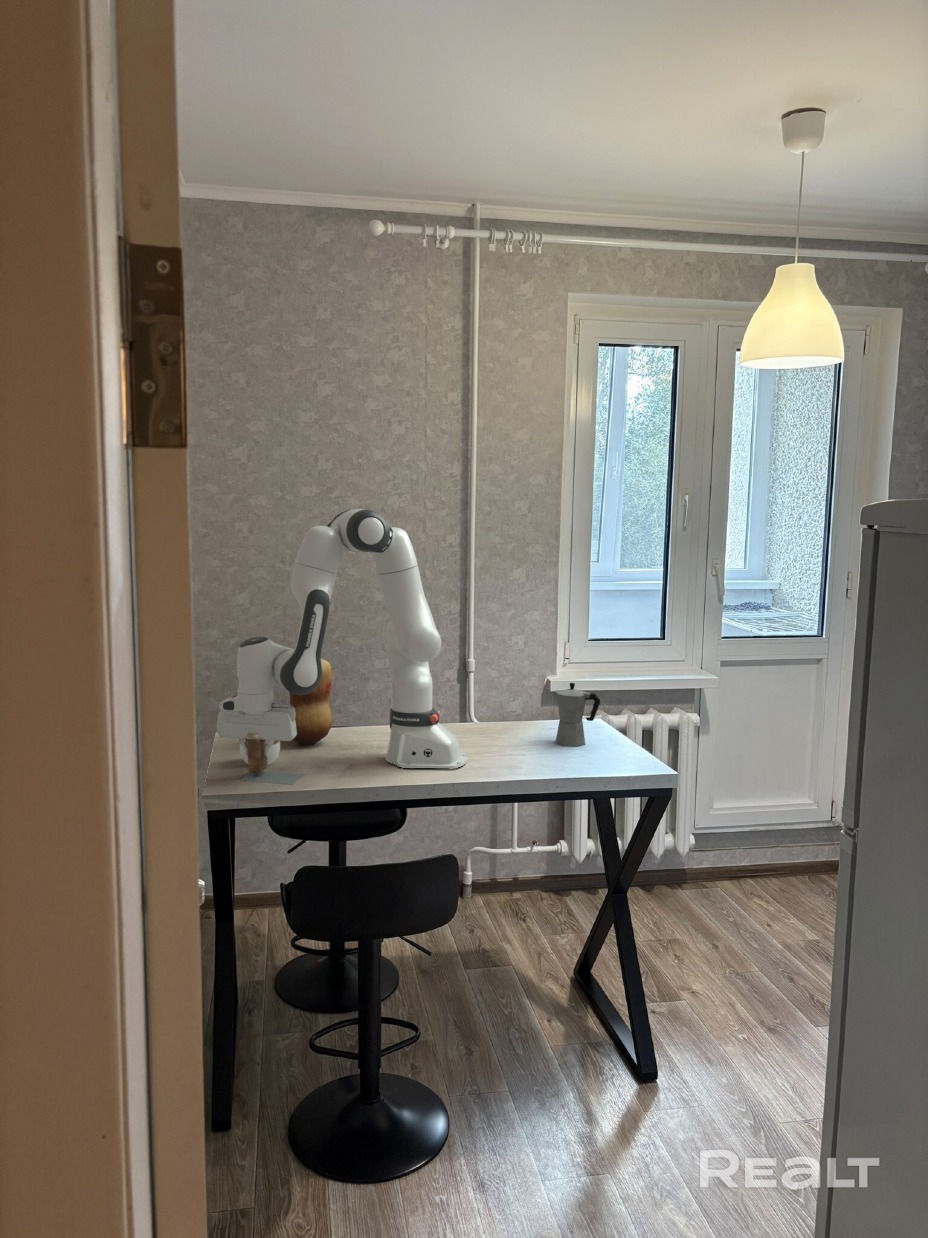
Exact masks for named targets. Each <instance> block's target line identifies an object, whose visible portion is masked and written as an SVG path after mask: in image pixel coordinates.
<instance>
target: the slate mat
mask: <svg viewBox="0 0 928 1238" xmlns="http://www.w3.org/2000/svg"><path fill="white" fill-rule="evenodd" d="M306 774H307V773H295V772H294V773H292V772H284V771H283V772H282V771H270V770H269V771H268V770H264V771H262V772H261V773H260V774H259V773H248V774H246V775H245V776H243V777H242V778H241V779H239V780H238V781H241V782H252V783H263V784H277V785H288V786H290V785H291V786H293V785H295V784H296V783H297V782H298V781H300V779H302V778H304V776H305V775H306Z"/></svg>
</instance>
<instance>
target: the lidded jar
mask: <svg viewBox="0 0 928 1238" xmlns="http://www.w3.org/2000/svg"><path fill="white" fill-rule="evenodd" d="M238 741H239V751H240V756H241V758H242V760H243V762H244V763H246V765H248V756H247V755H245V749H244V747H243V745H242V744H241V738H238ZM267 745H268V744H267ZM280 751H281V741H279V740H274V743H273V744H272V746H271V748H270V755H269V756H268V757H267V766H270V765H273V764H274V763H275V762H276V760H277V759H278V758H279V754H280Z"/></svg>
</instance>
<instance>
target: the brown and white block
mask: <svg viewBox="0 0 928 1238" xmlns="http://www.w3.org/2000/svg"><path fill="white" fill-rule="evenodd" d="M247 742H248V764H247V765H248V766H247V771H248V774H249V773H259V774H260V773H261V772H262V771H266V770H267V769H268V766H269V765H267V757H263V756H262V750H263V749H264V748H266V746H267V744H266V743H265V740H261V739H260V734H250V733H248V734H247Z"/></svg>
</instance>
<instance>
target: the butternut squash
mask: <svg viewBox="0 0 928 1238" xmlns="http://www.w3.org/2000/svg"><path fill="white" fill-rule="evenodd" d="M321 666H322V678H321V681H320V683H319V685H318V686H317V688H316V689H315V690H313V691H312V692H310V693H308V694H305V695H295V694H292V693H290V692H289V704H290V705H291V706H293V707H294V709H295V711H296V717H295V722H296V730H297V735H296V736H295V738H294V739H293V740H294V741H295V743H297V744H298V745H308V744H309V745H311V744H316V743H318V742H320V741H321V740H323V739H324V738H325V737H327V736H328V734H329V732H330V730H331V728H332V727H333V715H332V714H333V713H332V710H331V708H330V704H329V700H330V699H329V697H330V693H331V690H332V689H331V688H332V679H333V678H332V677H333V675H332V673H333V672H332V667H331V663H330V662H329V661H327V660H325V659H324V658H321ZM290 708H291V707H290Z"/></svg>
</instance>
